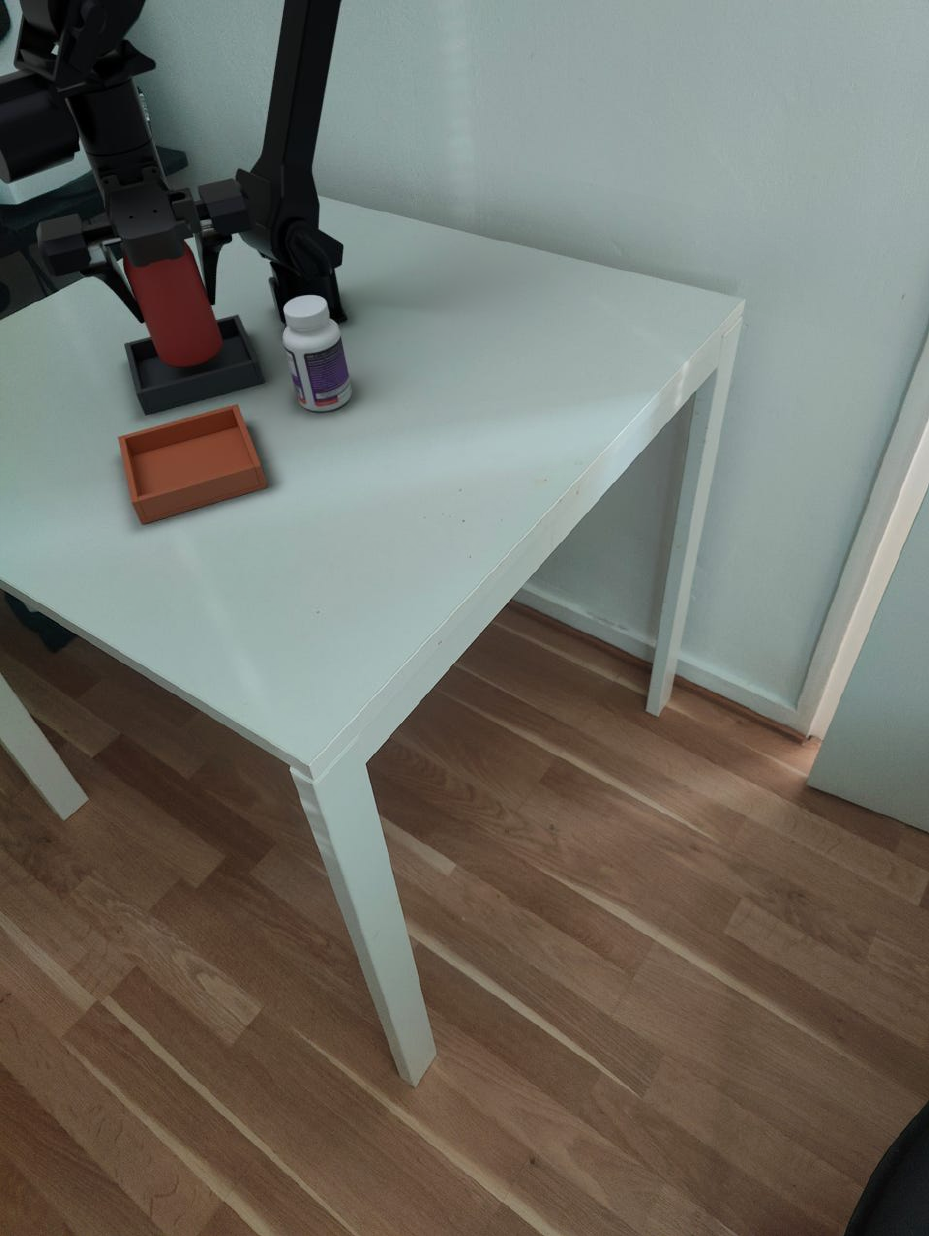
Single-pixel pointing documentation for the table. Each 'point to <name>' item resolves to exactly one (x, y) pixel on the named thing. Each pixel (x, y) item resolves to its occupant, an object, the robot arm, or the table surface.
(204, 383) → the can tray
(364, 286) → the table surface
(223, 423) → the tray
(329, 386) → the pill bottle
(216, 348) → the beer can
